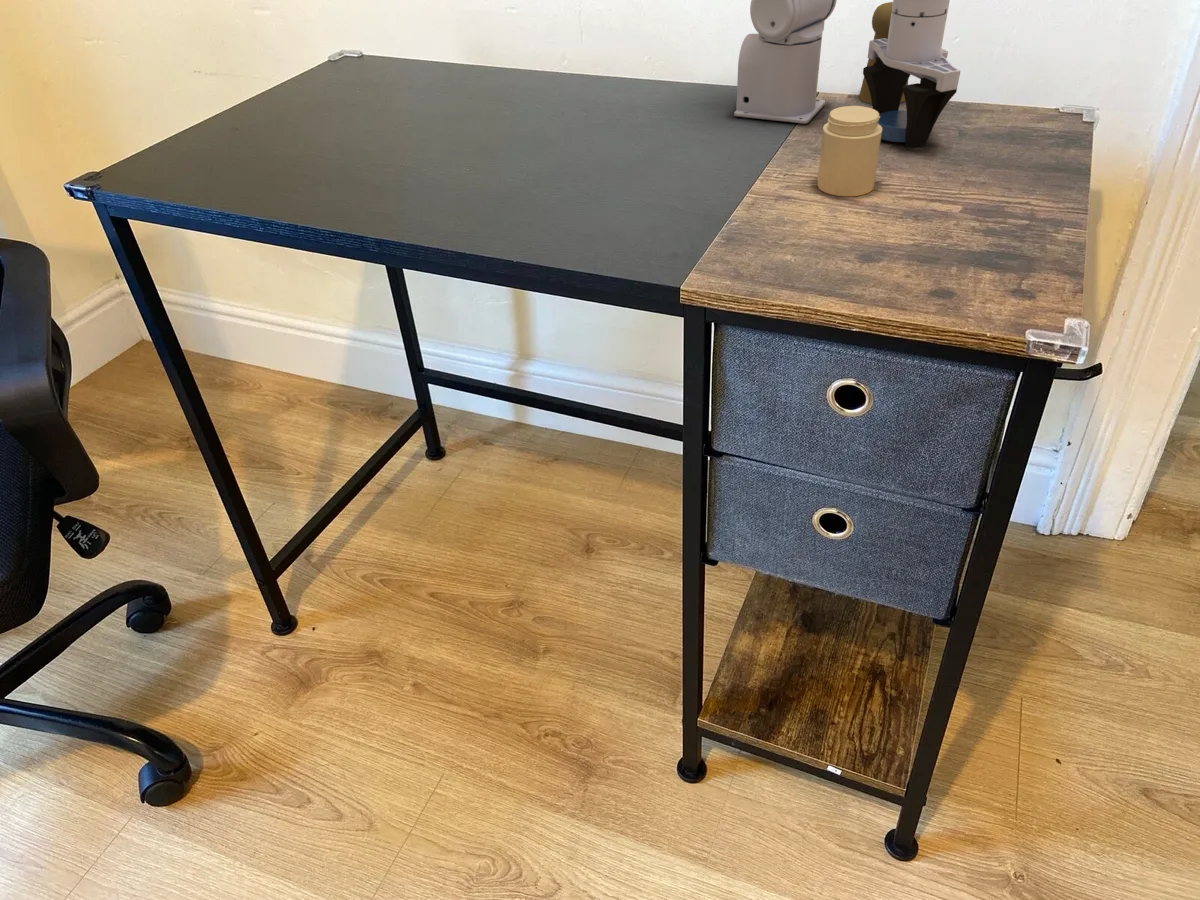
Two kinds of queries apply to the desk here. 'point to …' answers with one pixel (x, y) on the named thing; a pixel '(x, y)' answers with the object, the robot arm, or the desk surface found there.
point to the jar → (849, 151)
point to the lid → (893, 125)
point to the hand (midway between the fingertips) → (899, 138)
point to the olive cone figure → (881, 31)
